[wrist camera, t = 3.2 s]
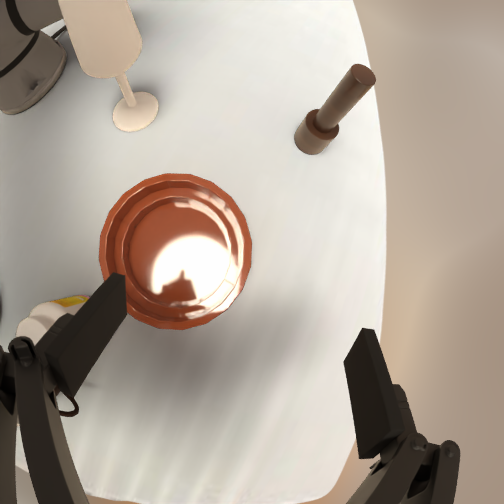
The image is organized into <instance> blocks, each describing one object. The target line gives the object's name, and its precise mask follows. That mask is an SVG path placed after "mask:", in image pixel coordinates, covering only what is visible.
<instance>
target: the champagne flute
mask: <svg viewBox="0 0 504 504" xmlns="http://www.w3.org/2000/svg"><path fill="white" fill-rule="evenodd" d="M58 2H59V6H60V9H61V12H62V15H63V18H64V21H65V24H66V27H67V30H68V33H69V36H70V39H71V42H72V45H73V47H74V50H75V53H76V56H77V58H78V61H79V63H80V66H81V68H82V70H83V71H84V72H85V73H86V74H87V75H89V76H92V77H96V78H112V77H115V78H116V80H117V82H118V84H119V87H120V89H121V91H122V93H123V96H124V98H123V99H121V100H120V101H119V102H118V104H117V105H116V106H115V109H114V111H113V122H114V124H115V125H116V126H117V128H119V129H120V130H123V131H128V132H132V131H138V130H140V129H143V128H145V127H146V126H148V125H149V124H150V123H151V122H152V121H153V120H154V119H155V117H156V115H157V113H158V109H159V105H158V101H157V99H156V98H155V97H154V96H153V95H152V94H150V93H147V92H135V93H132V90H131V87H130V85H129V82H128V80H127V77H126V75H125V71H127V70H128V69H129V68H130V67H131V66H132V65H133V64H134V62H135V61H136V60H137V58H138V56H139V55H140V53H141V50H142V38H141V35H140V33H139V30H138V28H137V25H136V23H135V20H134V18H133V15H132V13H131V10H130V7H129V5H128V2H127V0H58Z"/></svg>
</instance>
